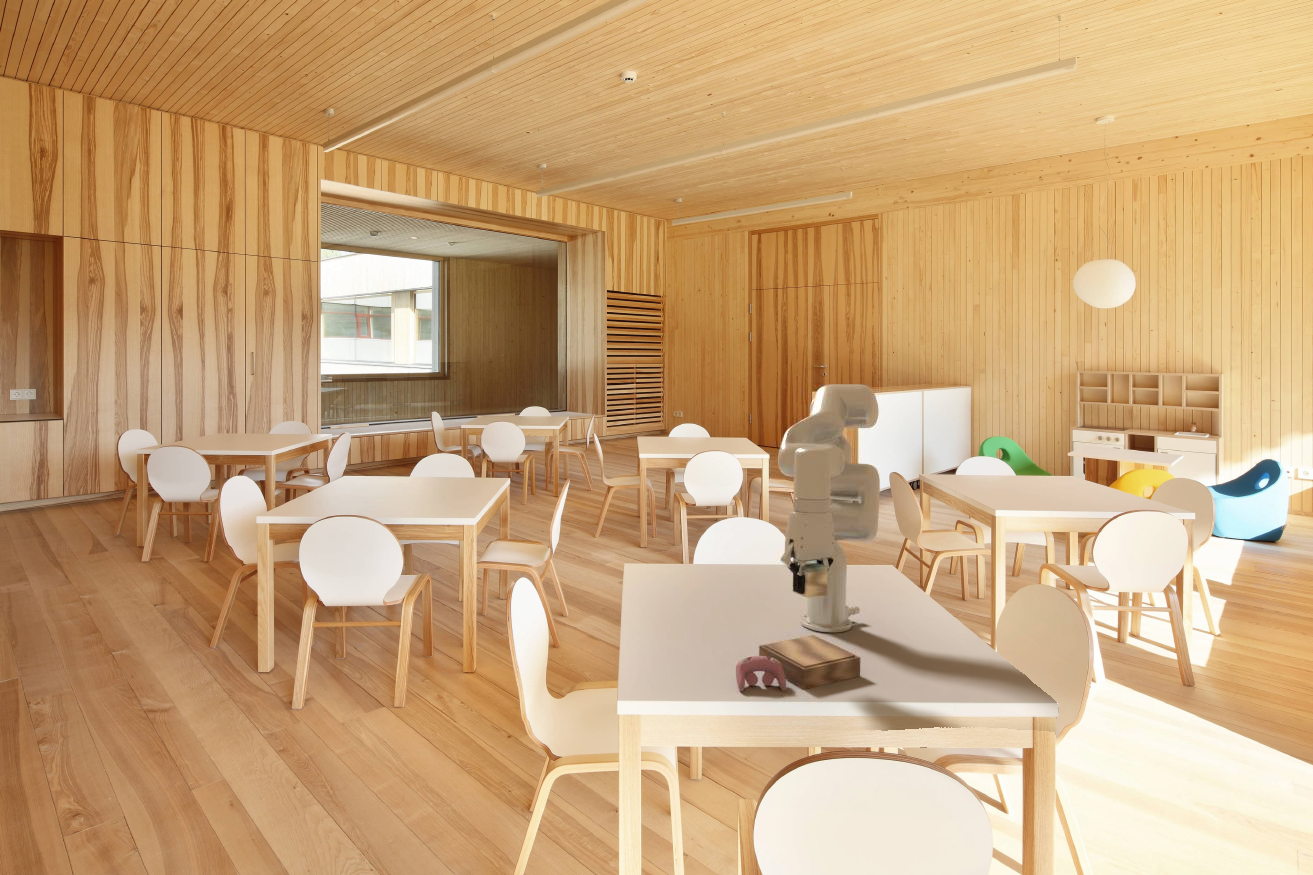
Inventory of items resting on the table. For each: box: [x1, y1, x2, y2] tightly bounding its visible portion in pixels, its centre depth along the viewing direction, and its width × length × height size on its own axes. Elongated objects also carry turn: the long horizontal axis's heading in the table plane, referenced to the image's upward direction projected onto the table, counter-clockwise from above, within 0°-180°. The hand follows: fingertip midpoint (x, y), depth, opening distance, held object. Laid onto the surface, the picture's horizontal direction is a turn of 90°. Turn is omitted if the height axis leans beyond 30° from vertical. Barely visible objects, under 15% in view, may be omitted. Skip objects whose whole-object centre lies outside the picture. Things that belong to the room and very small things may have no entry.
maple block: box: [792, 561, 828, 599], centre depth 152 cm, size 5×5×6 cm
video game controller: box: [735, 655, 787, 693], centre depth 145 cm, size 10×5×7 cm, turn 93°
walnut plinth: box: [758, 634, 862, 690], centre depth 154 cm, size 15×15×4 cm
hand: (809, 590), depth 153 cm, fingers closed on maple block, 5 cm apart
